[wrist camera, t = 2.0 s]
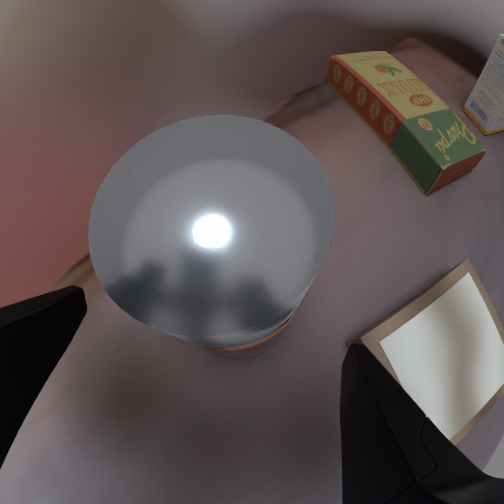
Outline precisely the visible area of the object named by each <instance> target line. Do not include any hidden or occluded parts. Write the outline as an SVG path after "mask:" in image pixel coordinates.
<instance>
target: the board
mask: <svg viewBox="0 0 504 504" xmlns="http://www.w3.org/2000/svg"><path fill="white" fill-rule="evenodd" d="M345 343H346V344H347V346H348V348H349V346H350V345H351V344H352V343H359V344H364V345H365V346H366V347H367V348H368V349H369V350H370V351H371V352H372V353H373V355H374V356H375V357H376V358H377V359H378V360H379V361H380V362H381V364H382V365H383V366H384V367H385V368H386V369H387V370H388V371H389V373H390V374H391V375H392V376H393V377H394V378H395V379H396V381H397V382H398V383H399V384H400V385H401V386H402V387H403V389H404V390H405V391H406V392H407V393H408V394H409V395H410V397H411V398H412V399H413V400H414V401H415V402H416V403H417V405H418V406H419V407H420V408H421V409H422V410H423V412H424V413H425V414H426V417H429V418H430V420H431V421H432V422H433V423H434V424H435V425H436V426H437V428H438V429H439V430H440V431H441V432H442V433H443V434H444V435H445V436H446V437H447V438H448V439H449V440H450V441H451V442H452V443H453V444H454V445H455V444H457V443H458V442H459V441H460V440H461V439H462V438H463V437H464V436H465V435H466V434H467V433H468V432H469V431H470V430H471V429H472V428H473V427H474V426H475V425H476V424H477V423H478V422H479V421H480V420H481V419H482V418H483V417H484V416H485V415H486V414H487V412H488V411H489V410H490V409H491V408H492V407H493V406H494V405H495V403H496V402H497V401H498V400H499V399H500V398H501V396H502V395H503V394H504V328H503V326H502V324H501V321H500V319H499V317H498V315H497V313H496V310H495V308H494V306H493V304H492V302H491V300H490V298H489V296H488V294H487V292H486V290H485V288H484V286H483V284H482V282H481V280H480V279H479V277H478V275H477V273H476V271H475V269H474V268H473V266H472V264H471V262H470V261H469V259H468V258H467V259H466V260H464V261H463V262H461V263H460V264H458V265H457V266H455V267H454V268H452V269H451V270H449V271H447V272H446V273H445V274H444V275H442V276H441V277H440V278H438V279H437V280H436V281H435V282H433V283H432V284H431V285H429V286H428V287H427V288H425V289H424V290H423V291H421V292H420V293H419V294H417V295H416V296H415V297H413V298H412V299H411V300H409V301H408V302H406V303H405V304H404V305H402V306H401V307H399V308H398V309H396V310H395V311H394V312H392V313H391V314H389V315H388V316H386V317H385V318H383V319H382V320H380V321H379V322H377V323H376V324H374V325H373V326H371V327H370V328H368V329H366V330H365V331H363V332H362V333H360V334H358V335H357V336H355V337H354V338H352V339H350V340H349V341H347V342H345Z"/></svg>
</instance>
